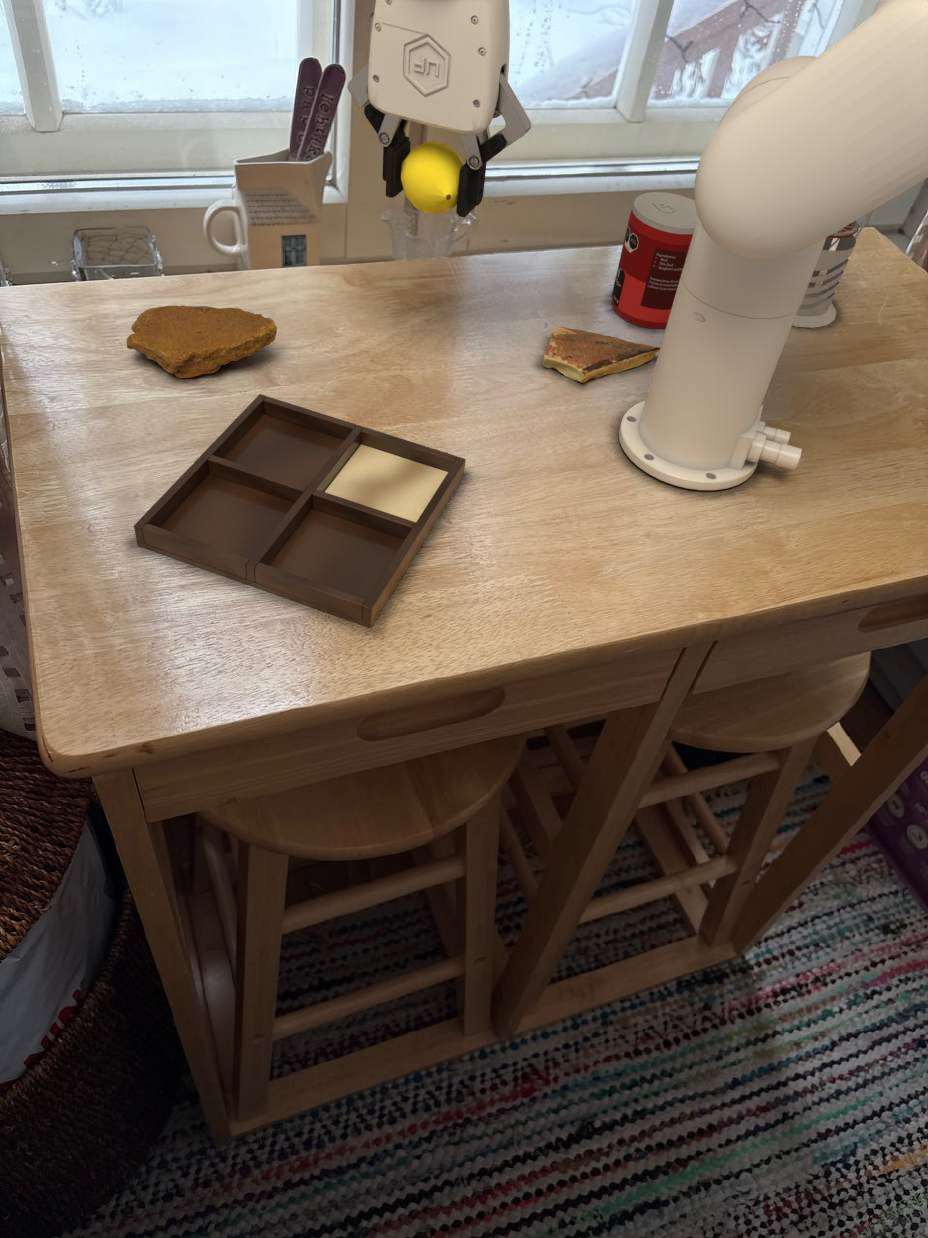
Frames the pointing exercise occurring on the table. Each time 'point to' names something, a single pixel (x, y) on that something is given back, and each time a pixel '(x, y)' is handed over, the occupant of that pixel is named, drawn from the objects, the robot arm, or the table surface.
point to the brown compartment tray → (305, 508)
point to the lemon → (431, 177)
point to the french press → (827, 278)
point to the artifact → (199, 337)
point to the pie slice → (593, 354)
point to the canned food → (653, 257)
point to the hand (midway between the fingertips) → (431, 198)
